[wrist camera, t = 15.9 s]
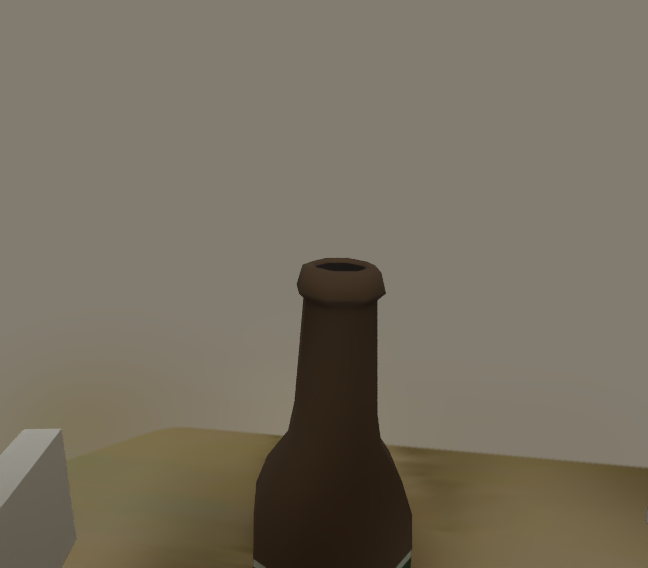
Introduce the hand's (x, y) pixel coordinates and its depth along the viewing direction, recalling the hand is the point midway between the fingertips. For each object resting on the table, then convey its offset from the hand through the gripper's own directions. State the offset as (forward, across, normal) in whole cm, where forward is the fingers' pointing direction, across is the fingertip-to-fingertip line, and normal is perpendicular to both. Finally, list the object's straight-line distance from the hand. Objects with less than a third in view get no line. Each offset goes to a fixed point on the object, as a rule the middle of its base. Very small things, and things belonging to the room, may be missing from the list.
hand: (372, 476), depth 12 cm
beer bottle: (+11, 0, -22) cm, 25 cm away
